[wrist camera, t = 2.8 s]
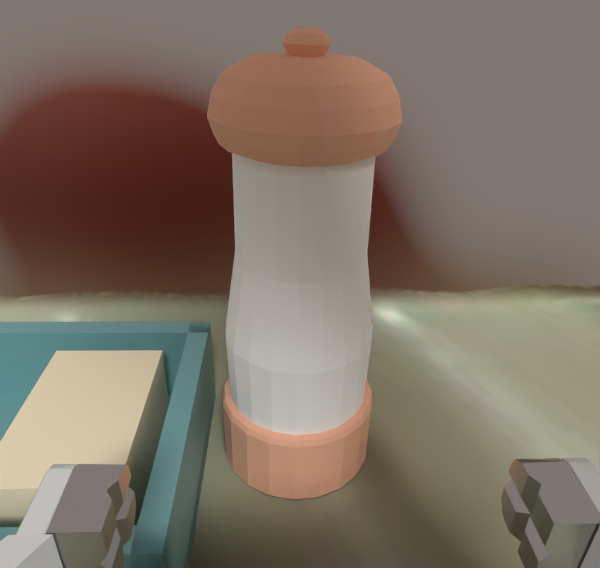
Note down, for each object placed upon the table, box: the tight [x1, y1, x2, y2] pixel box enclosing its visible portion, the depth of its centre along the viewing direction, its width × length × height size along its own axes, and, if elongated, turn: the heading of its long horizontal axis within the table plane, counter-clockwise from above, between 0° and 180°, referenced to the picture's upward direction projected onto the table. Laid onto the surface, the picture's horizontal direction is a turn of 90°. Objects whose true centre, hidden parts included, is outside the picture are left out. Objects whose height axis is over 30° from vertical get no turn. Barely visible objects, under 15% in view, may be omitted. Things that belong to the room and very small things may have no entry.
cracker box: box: [0, 350, 169, 527], centre depth 23 cm, size 5×8×4 cm, turn 2°
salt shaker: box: [207, 27, 402, 499], centre depth 22 cm, size 7×7×19 cm
